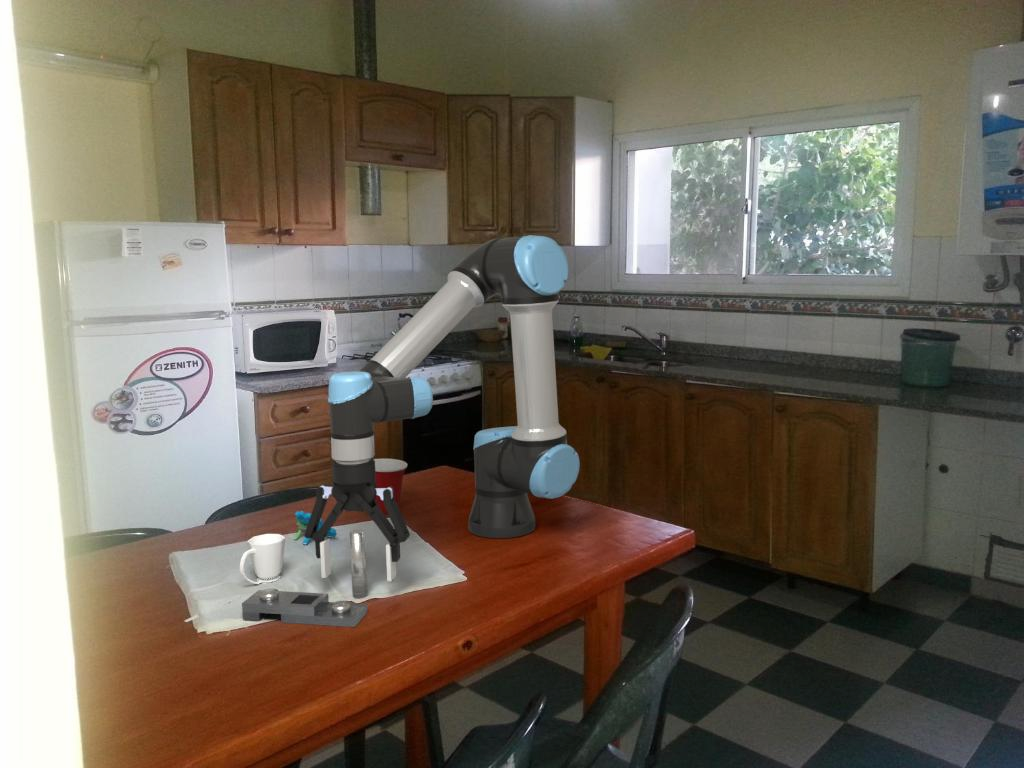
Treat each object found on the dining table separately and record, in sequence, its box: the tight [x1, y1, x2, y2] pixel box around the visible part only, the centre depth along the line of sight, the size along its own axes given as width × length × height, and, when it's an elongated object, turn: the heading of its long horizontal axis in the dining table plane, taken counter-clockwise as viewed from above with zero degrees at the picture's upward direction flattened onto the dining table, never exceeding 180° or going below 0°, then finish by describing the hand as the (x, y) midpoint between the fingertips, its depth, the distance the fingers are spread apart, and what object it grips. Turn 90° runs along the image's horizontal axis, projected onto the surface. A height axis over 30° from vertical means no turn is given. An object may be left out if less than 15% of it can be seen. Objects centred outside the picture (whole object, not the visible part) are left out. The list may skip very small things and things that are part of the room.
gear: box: [293, 510, 337, 544], centre depth 181 cm, size 11×6×10 cm
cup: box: [239, 533, 286, 585], centre depth 158 cm, size 7×10×8 cm
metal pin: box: [349, 529, 368, 599], centre depth 150 cm, size 3×3×12 cm
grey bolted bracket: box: [241, 588, 368, 628], centre depth 142 cm, size 20×6×4 cm, turn 80°
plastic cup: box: [373, 458, 408, 514], centre depth 204 cm, size 11×11×12 cm
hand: (358, 576), depth 150 cm, fingers open, 12 cm apart
